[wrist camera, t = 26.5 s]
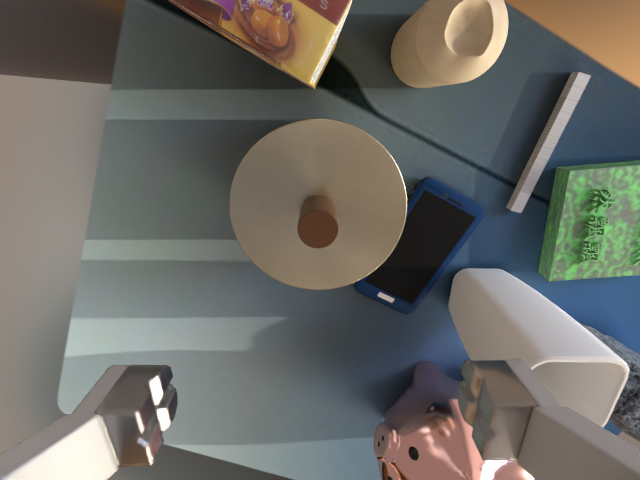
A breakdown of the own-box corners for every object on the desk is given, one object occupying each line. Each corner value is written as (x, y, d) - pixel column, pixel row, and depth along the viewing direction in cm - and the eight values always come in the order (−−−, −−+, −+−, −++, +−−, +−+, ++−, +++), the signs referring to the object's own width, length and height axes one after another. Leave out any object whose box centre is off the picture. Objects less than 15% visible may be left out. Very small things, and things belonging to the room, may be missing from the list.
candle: (462, 72, 29) (529, 58, 20) (401, 99, 30) (438, 97, 21) (446, 1, 27) (512, -51, 18) (380, 32, 28) (412, -4, 19)
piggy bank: (398, 330, 39) (446, 469, 24) (526, 378, 42) (640, 529, 27) (342, 419, 44) (353, 578, 30) (459, 457, 47) (524, 619, 32)
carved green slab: (556, 167, 32) (574, 171, 30) (685, 156, 32) (714, 160, 30) (537, 272, 36) (552, 283, 34) (651, 264, 36) (674, 275, 34)
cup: (447, 259, 36) (527, 357, 22) (515, 260, 36) (639, 358, 22) (436, 317, 38) (503, 437, 25) (500, 318, 38) (602, 437, 25)
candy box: (219, 37, 28) (118, -31, 14) (240, -18, 27) (152, -156, 12) (313, 94, 30) (309, 86, 16) (338, 45, 28) (358, -13, 14)
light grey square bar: (570, 72, 29) (579, 71, 28) (582, 76, 29) (591, 75, 28) (505, 207, 34) (510, 210, 33) (515, 210, 34) (521, 213, 33)
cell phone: (351, 287, 37) (352, 290, 36) (424, 173, 32) (426, 174, 31) (408, 313, 38) (409, 317, 37) (485, 208, 33) (489, 210, 33)
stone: (518, 355, 40) (578, 430, 31) (566, 307, 38) (646, 373, 29) (593, 394, 43) (669, 474, 34) (642, 351, 40) (739, 425, 31)
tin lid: (223, 119, 23) (200, 123, 19) (410, 116, 23) (432, 119, 19) (241, 283, 28) (227, 317, 23) (397, 281, 28) (411, 314, 23)
